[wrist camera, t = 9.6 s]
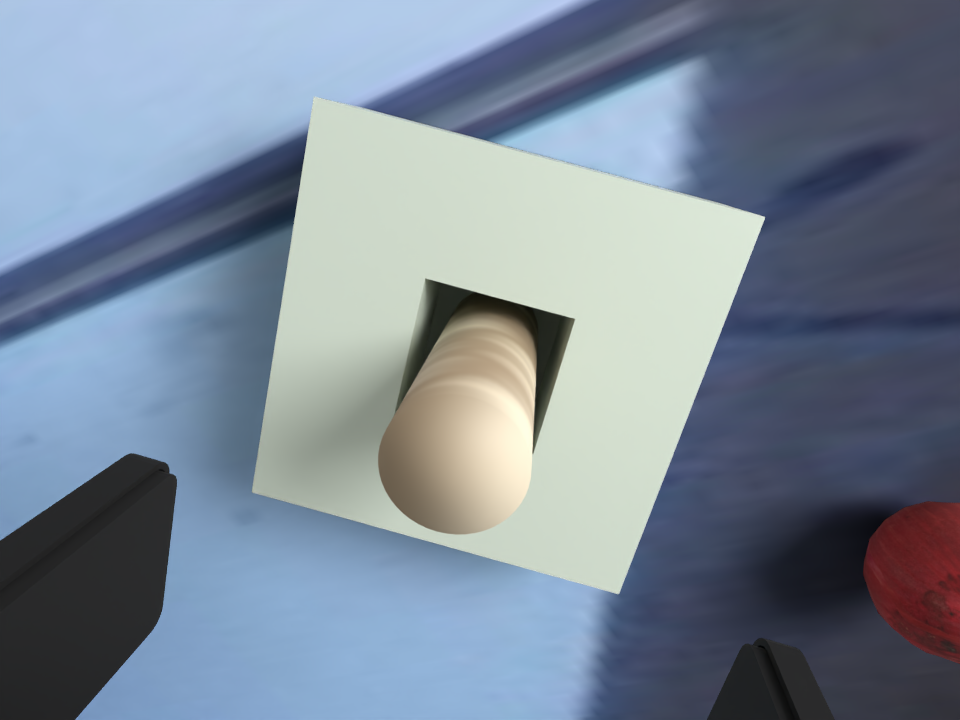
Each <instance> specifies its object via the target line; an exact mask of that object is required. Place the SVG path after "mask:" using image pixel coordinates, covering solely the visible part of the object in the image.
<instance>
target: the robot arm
mask: <svg viewBox="0 0 960 720" xmlns="http://www.w3.org/2000/svg"><path fill="white" fill-rule="evenodd" d="M176 487H177V479H176V476H175V475H173V474H169V467H168V465H167V464H166V463H165V462H161V461H158V460H154V459H151V458H147V457H144V456H141V455H137V454H128V455H126V456H124V457H123V458H121V459H120V460H118V461H117V462H115V463H114V464H112V465H111V466H109V467H108V468H106V469H105V470H103V471H102V472H101V473H99V474H98V475H96V476H95V477H93V478H92V479H90V480H89V481H87V482H86V483H84V484H83V485H81V486H80V487H78V488H77V489H76V490H74V491H73V492H71V493H70V494H68V495H67V496H65V497H64V498H62V499H61V500H59V501H58V502H56V503H55V504H53V505H52V506H51V507H49V508H48V509H46V510H45V511H43V512H42V513H40V514H39V515H37V516H36V517H34V518H33V519H31V520H30V521H29V522H27V523H26V524H24V525H23V526H21V527H20V528H18V529H17V530H15V531H14V532H12V533H11V534H9V535H8V536H6V537H5V538H4V539H2V540H1V541H0V720H75V719H76V718H77V717H78V716H79V714H80V713H81V712H82V711H83V710H84V709H85V707H86V706H87V705H88V704H89V703H90V702H91V701H92V699H93V698H94V697H95V696H96V695H97V694H98V693H99V691H100V690H101V689H102V688H103V687H104V686H105V684H106V683H107V682H108V681H109V680H110V679H111V678H112V676H113V675H114V674H115V673H116V672H117V671H118V670H119V668H120V667H121V666H122V665H123V664H124V663H125V661H126V660H127V659H128V658H129V657H130V656H131V655H132V653H133V652H134V651H135V650H136V649H137V648H138V647H139V645H140V644H141V643H142V642H143V641H144V640H145V638H146V637H147V636H148V635H149V634H150V633H151V631H152V630H153V629H154V627H155V625H156V624H157V622H158V620H159V618H160V615H161V612H162V607H163V600H164V591H165V582H166V574H167V565H168V556H169V548H170V539H171V530H172V522H173V513H174V504H175V496H176ZM707 720H834V717H833V715H832V713H831V711H830V709H829V707H828V705H827V703H826V701H825V699H824V697H823V695H822V692H821V690H820V688H819V686H818V684H817V682H816V680H815V678H814V676H813V674H812V672H811V670H810V668H809V665H808V663H807V661H806V659H805V657H804V655H803V654H802V652H801V651H800V650H799V649H797V648H795V647H791V646H788V645H784V644H781V643H778V642H774V641H771V640H767V639H764V638H759V639H758V640H756V641H755V642H754V644H753V645H750V644H745V645H744V646H742V648H741V650H740V651H739V653H738V655H737V658H736V660H735V662H734V664H733V666H732V668H731V670H730V672H729V674H728V677H727V679H726V681H725V683H724V685H723V687H722V689H721V691H720V693H719V695H718V698H717V700H716V702H715V704H714V706H713V708H712V710H711V712H710V714H709V716H708V719H707Z"/></svg>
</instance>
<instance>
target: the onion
mask: <svg viewBox="0 0 960 720" xmlns="http://www.w3.org/2000/svg"><path fill="white" fill-rule="evenodd" d="M863 575H864V578H865V581H866V584H867V587H868V590H869V593H870V596H871V598H872V600H873V602H874V605H875V607H876V609H877V611H878V613H879V614H880V615H881V616H882V617H883V618H884V620H885V621H886V622H887V623H888V624H889V625H890V626H891V627H892V628H893V629H894V630H896V631H897V632H898V633H899V634H900V635H902V636H903V637H904V638H905V639H907V640H908V641H909V642H910V643H911V644H913V645H915V646H916V647H918V648H920V649H921V650H923V651H925V652H926V653H930V654H933V655H936V656H940V657H943V658H945V659H948V660H951V661H954V662H956V663H959V664H960V503H942V502H929V501H927V502H924V503H920V504H916V505H912V506H908V507H904V508H903V509H901V510H900V511H898V512H897V513H895V514H893V515H892V516H890V517H889V518H887V519H886V520H884V521H883V523H882V524H881V525H880V526H879V528H878V529H877V530H876V531H875V533H874V534H873V535H872V537H871V538H870V540H869V544H868V548H867V551H866V555H865V559H864V568H863Z"/></svg>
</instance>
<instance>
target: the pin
mask: <svg viewBox="0 0 960 720" xmlns="http://www.w3.org/2000/svg"><path fill="white" fill-rule="evenodd" d="M537 347H538V324H537V320H536V317H535V314H534V312H533V310H532V309H531V307H529V306H526V305H522V304H518V303H514V302H511V301H507V300H503V299H500V298H496V297H492V296H489V295H485V294H481V293H478V292H474V293H471V294H470V295H468V296H467V297H466V298H464V299H463V300H462V301H461V302H460V303H459V305H458V306H457V308H456V309H455V311H454V312H453V314H452V316H451V318H450V319H449V321H448V323H447V325H446V326H445V328H444V330H443V331H442V333H441V335H440V337H439V338H438V340H437V342H436V344H435V345H434V347H433V349H432V351H431V352H430V354H429V356H428V358H427V359H426V361H425V363H424V364H423V366H422V368H421V370H420V371H419V373H418V375H417V377H416V378H415V380H414V382H413V384H412V385H411V387H410V389H409V390H408V392H407V394H406V396H405V397H404V399H403V401H402V403H401V404H400V406H399V408H398V410H397V411H396V413H395V415H394V417H393V418H392V420H391V422H390V423H389V425H388V427H387V429H386V431H385V433H384V435H383V437H382V440H381V443H380V446H379V453H378V468H379V474H380V478H381V482H382V484H383V486H384V489H385V491H386V493H387V494H388V496H389V498H390V499H391V501H392V502H393V503H394V505H395V506H396V507H397V508H398V509H399V510H400V511H401V512H402V513H403V514H404V515H406V516H407V517H408V518H409V519H411V520H412V521H414V522H416V523H417V524H419V525H421V526H423V527H425V528H428V529H431V530H434V531H436V532H441V533H446V534H455V535H460V534H472V533H478V532H481V531H485V530H487V529H490V528H493V527H494V526H496V525H498V524H500V523H502V522H503V521H504V520H506V519H507V518H508V517H510V516H511V515H512V514H513V513H514V512H515V511H516V509H517V508H518V507H519V506H520V504H521V503H522V501H523V499H524V497H525V495H526V493H527V490H528V488H529V484H530V480H531V469H532V448H533V428H534V408H535V387H536V367H537Z"/></svg>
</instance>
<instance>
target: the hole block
mask: <svg viewBox="0 0 960 720" xmlns="http://www.w3.org/2000/svg"><path fill="white" fill-rule="evenodd" d="M764 219H765V217H763V216H760V215H756V214H753V213H750V212H747V211H743V210H740V209H737V208H734V207H730V206H727V205H724V204H721V203H717V202H714V201H710V200H706V199H703V198H699V197H695V196H691V195H688V194H684V193H680V192H676V191H673V190H669V189H665V188H661V187H658V186H654V185H650V184H646V183H643V182H639V181H635V180H632V179H628V178H624V177H620V176H617V175H613V174H609V173H605V172H602V171H598V170H594V169H590V168H587V167H583V166H579V165H575V164H572V163H568V162H564V161H560V160H557V159H553V158H549V157H545V156H542V155H538V154H534V153H530V152H527V151H523V150H519V149H515V148H512V147H508V146H504V145H500V144H497V143H493V142H489V141H486V140H482V139H478V138H474V137H471V136H467V135H463V134H459V133H456V132H452V131H448V130H444V129H441V128H437V127H433V126H429V125H426V124H422V123H418V122H414V121H411V120H407V119H403V118H399V117H396V116H392V115H388V114H384V113H381V112H377V111H373V110H369V109H366V108H361V107H357V106H353V105H348V104H344V103H339V102H335V101H331V100H326V99H322V98H318V97H314V99H313V105H312V112H311V118H310V125H309V131H308V137H307V144H306V150H305V156H304V163H303V169H302V176H301V182H300V188H299V195H298V201H297V207H296V214H295V220H294V226H293V233H292V239H291V246H290V252H289V258H288V265H287V271H286V277H285V284H284V290H283V296H282V303H281V309H280V316H279V322H278V328H277V335H276V341H275V347H274V354H273V360H272V367H271V373H270V379H269V386H268V392H267V398H266V405H265V411H264V417H263V424H262V430H261V437H260V443H259V449H258V456H257V462H256V468H255V475H254V481H253V487H252V493H256V494H259V495H263V496H267V497H270V498H274V499H278V500H281V501H285V502H288V503H292V504H296V505H299V506H303V507H306V508H310V509H314V510H317V511H321V512H324V513H328V514H332V515H335V516H339V517H342V518H346V519H350V520H353V521H357V522H360V523H364V524H368V525H371V526H375V527H378V528H382V529H386V530H389V531H393V532H396V533H400V534H404V535H407V536H411V537H414V538H418V539H422V540H425V541H429V542H432V543H436V544H440V545H443V546H447V547H450V548H454V549H458V550H461V551H465V552H469V553H472V554H476V555H479V556H483V557H487V558H490V559H494V560H497V561H501V562H505V563H508V564H512V565H515V566H519V567H523V568H526V569H530V570H533V571H537V572H541V573H544V574H548V575H551V576H555V577H559V578H562V579H566V580H569V581H573V582H577V583H580V584H584V585H587V586H591V587H595V588H598V589H602V590H605V591H609V592H613V593H616V594H619V592H620V590H621V587H622V585H623V582H624V579H625V577H626V574H627V572H628V569H629V567H630V564H631V561H632V559H633V556H634V554H635V551H636V549H637V546H638V543H639V541H640V538H641V536H642V533H643V530H644V528H645V525H646V523H647V520H648V518H649V515H650V512H651V510H652V507H653V505H654V502H655V500H656V497H657V494H658V492H659V489H660V487H661V484H662V482H663V479H664V476H665V474H666V471H667V469H668V466H669V464H670V461H671V458H672V456H673V453H674V451H675V448H676V446H677V443H678V440H679V438H680V435H681V433H682V430H683V428H684V425H685V422H686V420H687V417H688V415H689V412H690V410H691V407H692V404H693V402H694V399H695V397H696V394H697V392H698V389H699V386H700V384H701V381H702V379H703V376H704V374H705V371H706V368H707V366H708V363H709V361H710V358H711V356H712V353H713V350H714V348H715V345H716V343H717V340H718V337H719V335H720V332H721V330H722V327H723V325H724V322H725V319H726V317H727V314H728V312H729V309H730V307H731V304H732V301H733V299H734V296H735V294H736V291H737V289H738V286H739V283H740V281H741V278H742V276H743V273H744V271H745V268H746V265H747V263H748V260H749V258H750V255H751V253H752V250H753V247H754V245H755V242H756V240H757V237H758V235H759V232H760V229H761V227H762V224H763V222H764ZM474 292H478V293H481V294H485V295H489V296H492V297H496V298H500V299H503V300H507V301H511V302H514V303H518V304H522V305H526V306H529V307H531V309H532V310H533V312H534V314H535V317H536V320H537V324H538V347H537V367H536V387H535V408H534V428H533V448H532V469H531V480H530V484H529V488H528V490H527V493H526V495H525V497H524V499H523V501H522V503H521V504H520V506H519V507H518V508H517V509H516V511H515V512H514V513H513V514H512V515H511V516H510V517H508V518H507V519H506V520H504V521H503V522H502V523H500V524H498V525H496V526H494V527H493V528H490V529H487V530H485V531H481V532H478V533H472V534H460V535H455V534H446V533H441V532H436V531H434V530H431V529H428V528H425V527H423V526H421V525H419V524H417V523H416V522H414V521H412V520H411V519H409V518H408V517H407V516H406V515H404V514H403V513H402V512H401V511H400V510H399V509H398V508H397V507H396V506H395V505H394V503H393V502H392V501H391V499H390V498H389V496H388V494H387V493H386V491H385V489H384V486H383V484H382V482H381V478H380V474H379V468H378V453H379V446H380V443H381V440H382V437H383V435H384V433H385V431H386V429H387V427H388V425H389V423H390V422H391V420H392V418H393V417H394V415H395V413H396V411H397V410H398V408H399V406H400V404H401V403H402V401H403V399H404V397H405V396H406V394H407V392H408V390H409V389H410V387H411V385H412V384H413V382H414V380H415V378H416V377H417V375H418V373H419V371H420V370H421V368H422V366H423V364H424V363H425V361H426V359H427V358H428V356H429V354H430V352H431V351H432V349H433V347H434V345H435V344H436V342H437V340H438V338H439V337H440V335H441V333H442V331H443V330H444V328H445V326H446V325H447V323H448V321H449V319H450V318H451V316H452V314H453V312H454V311H455V309H456V308H457V306H458V305H459V303H460V302H461V301H462V300H463V299H464V298H466V297H467V296H468V295H470V294H471V293H474Z"/></svg>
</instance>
